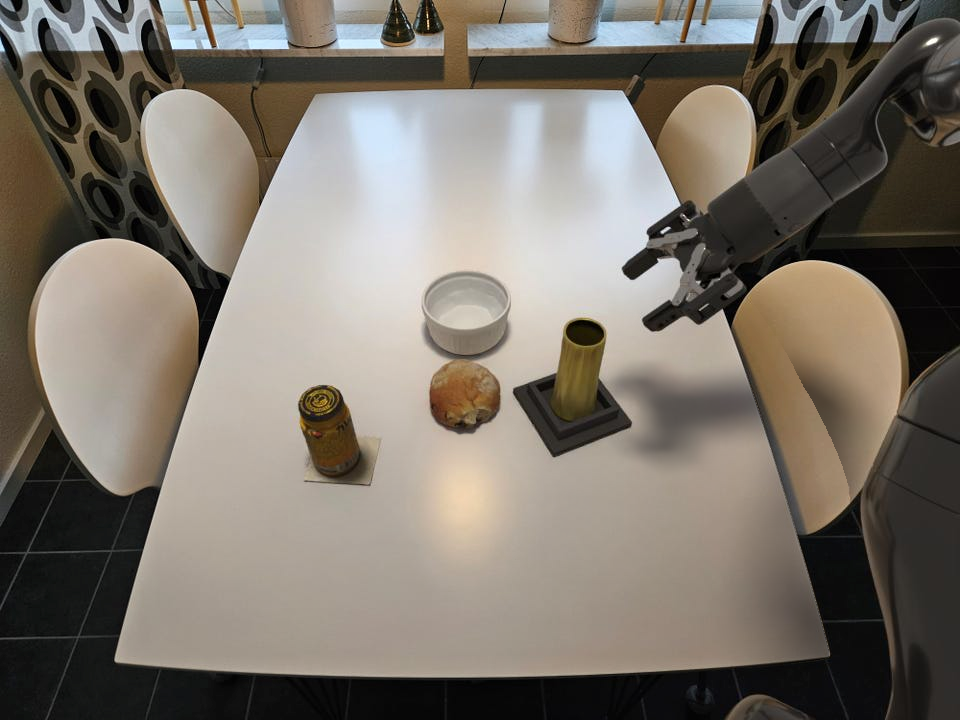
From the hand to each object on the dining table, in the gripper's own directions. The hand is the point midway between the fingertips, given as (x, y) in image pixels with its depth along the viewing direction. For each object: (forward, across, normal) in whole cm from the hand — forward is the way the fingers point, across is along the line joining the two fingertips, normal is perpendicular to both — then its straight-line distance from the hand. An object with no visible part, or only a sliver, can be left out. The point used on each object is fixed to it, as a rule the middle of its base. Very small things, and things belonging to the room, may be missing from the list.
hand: (636, 299), depth 72 cm
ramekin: (+28, -19, +3) cm, 34 cm away
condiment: (+41, +2, -9) cm, 42 cm away
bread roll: (+29, -5, +2) cm, 30 cm away
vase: (+18, -2, +12) cm, 22 cm away
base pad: (+19, -2, +12) cm, 23 cm away
